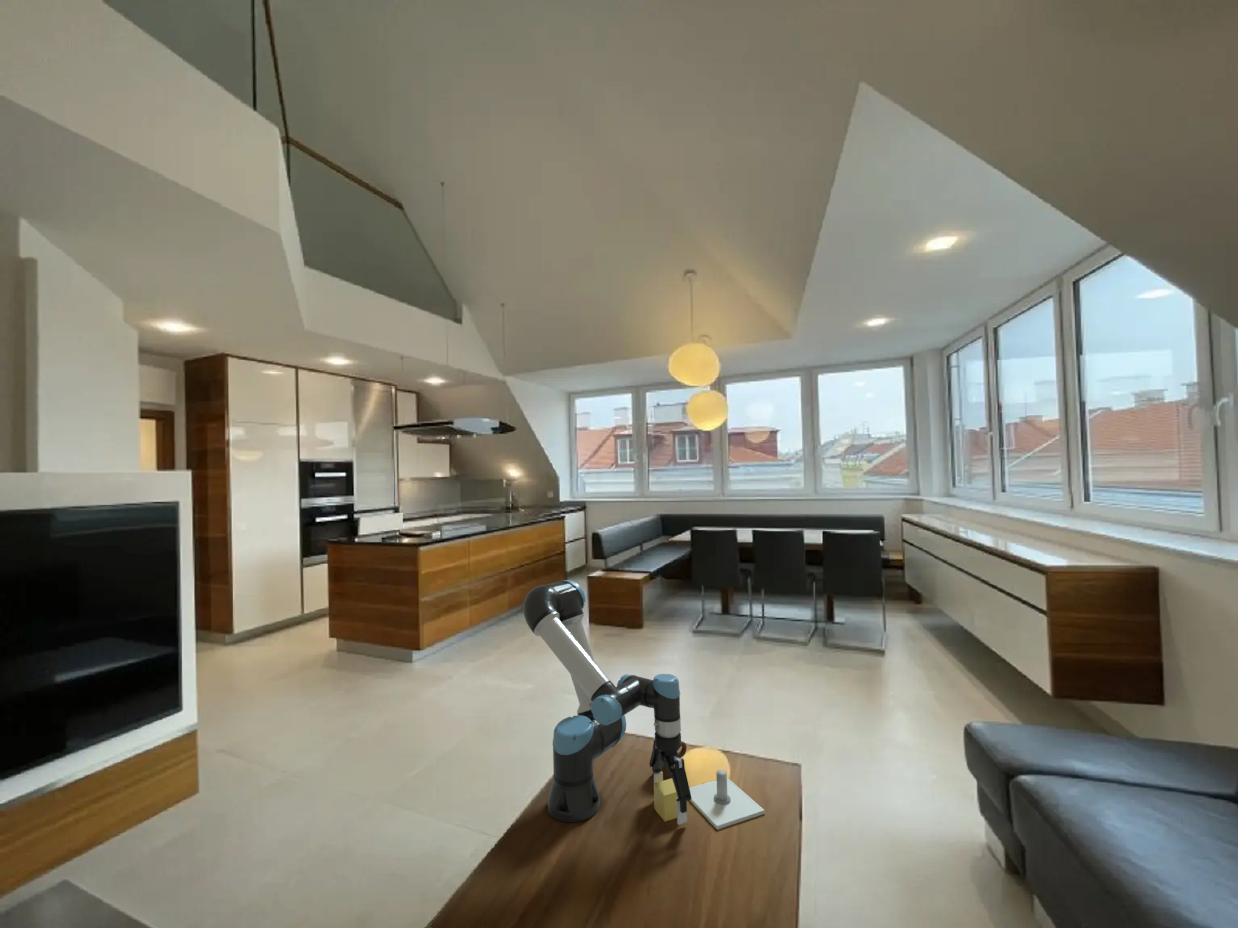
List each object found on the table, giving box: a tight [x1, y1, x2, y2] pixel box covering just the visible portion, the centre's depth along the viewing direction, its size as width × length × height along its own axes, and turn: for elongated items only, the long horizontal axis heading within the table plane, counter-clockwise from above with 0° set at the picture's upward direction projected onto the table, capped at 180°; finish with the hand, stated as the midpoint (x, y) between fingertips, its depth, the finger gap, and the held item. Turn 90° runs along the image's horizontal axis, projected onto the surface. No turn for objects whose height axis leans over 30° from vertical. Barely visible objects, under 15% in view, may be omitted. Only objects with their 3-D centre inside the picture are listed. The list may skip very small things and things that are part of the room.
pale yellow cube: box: [653, 778, 678, 823], centre depth 143 cm, size 6×6×7 cm
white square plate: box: [689, 769, 765, 830], centre depth 147 cm, size 18×16×9 cm
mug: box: [652, 740, 688, 781], centre depth 163 cm, size 12×8×9 cm, turn 114°
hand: (670, 808), depth 143 cm, fingers open, 13 cm apart
